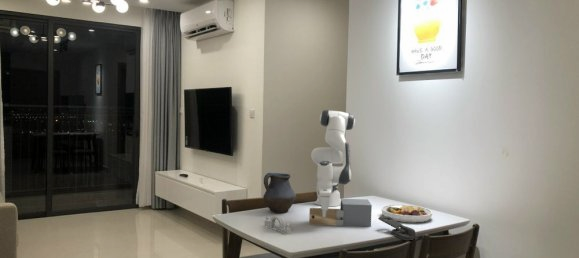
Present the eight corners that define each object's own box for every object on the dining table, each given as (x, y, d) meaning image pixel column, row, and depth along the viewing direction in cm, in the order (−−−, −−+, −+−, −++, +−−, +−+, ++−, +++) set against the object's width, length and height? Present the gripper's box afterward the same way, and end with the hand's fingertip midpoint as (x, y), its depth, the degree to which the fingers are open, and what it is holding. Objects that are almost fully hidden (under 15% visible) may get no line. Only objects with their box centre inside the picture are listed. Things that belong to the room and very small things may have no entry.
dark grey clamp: (389, 215, 257) (421, 226, 235) (388, 227, 257) (420, 239, 235) (376, 217, 253) (407, 228, 230) (376, 229, 253) (407, 241, 231)
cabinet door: (309, 223, 261) (309, 207, 260) (340, 224, 260) (340, 208, 260) (309, 225, 257) (309, 209, 257) (340, 226, 257) (341, 210, 256)
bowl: (373, 212, 293) (374, 200, 292) (417, 211, 299) (417, 199, 298) (393, 225, 263) (394, 211, 263) (441, 223, 270) (442, 210, 269)
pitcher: (302, 213, 286) (303, 173, 284) (273, 217, 273) (274, 175, 271) (282, 206, 302) (283, 169, 301) (254, 210, 289) (255, 171, 288)
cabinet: (334, 218, 274) (334, 198, 274) (367, 219, 274) (367, 199, 273) (336, 225, 257) (336, 204, 256) (371, 227, 256) (372, 205, 255)
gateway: (264, 227, 253) (264, 212, 252) (267, 226, 254) (268, 212, 254) (286, 235, 237) (287, 220, 237) (290, 234, 239) (290, 219, 238)
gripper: (318, 186, 269) (317, 210, 269) (319, 193, 248) (318, 218, 249) (329, 187, 269) (328, 210, 269) (331, 193, 248) (330, 219, 249)
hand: (323, 214), depth 259 cm, fingers open, 8 cm apart
